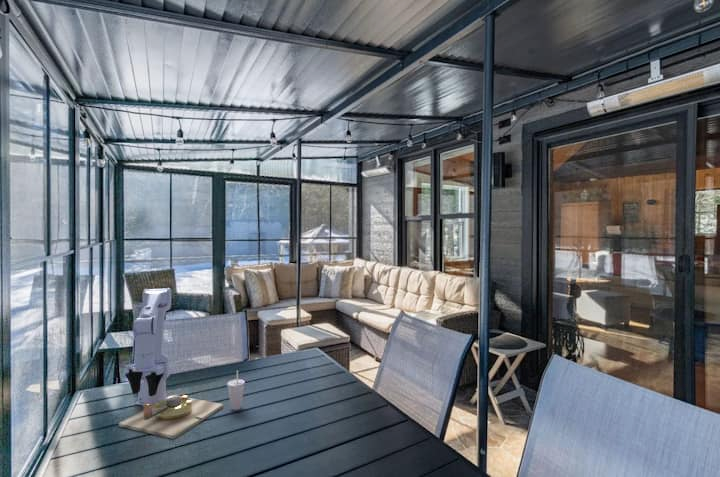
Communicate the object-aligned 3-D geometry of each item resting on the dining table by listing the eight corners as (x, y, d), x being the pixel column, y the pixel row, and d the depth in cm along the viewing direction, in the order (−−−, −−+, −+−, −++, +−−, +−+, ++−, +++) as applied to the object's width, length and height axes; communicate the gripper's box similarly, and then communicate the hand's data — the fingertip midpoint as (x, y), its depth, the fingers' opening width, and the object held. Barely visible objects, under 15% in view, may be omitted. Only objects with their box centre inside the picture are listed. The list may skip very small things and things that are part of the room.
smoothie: (239, 412, 142) (239, 374, 142) (223, 410, 144) (223, 373, 143) (248, 404, 149) (247, 368, 148) (232, 403, 150) (232, 367, 150)
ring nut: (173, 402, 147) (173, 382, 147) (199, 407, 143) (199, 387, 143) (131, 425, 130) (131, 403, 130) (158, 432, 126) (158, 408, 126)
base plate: (118, 426, 132) (118, 408, 132) (173, 397, 155) (173, 382, 155) (175, 439, 124) (174, 420, 124) (224, 406, 147) (224, 391, 147)
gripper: (118, 354, 130) (117, 395, 129) (150, 357, 125) (150, 400, 124) (137, 349, 137) (136, 388, 136) (168, 352, 131) (168, 393, 131)
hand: (144, 394), depth 131 cm, fingers open, 7 cm apart
